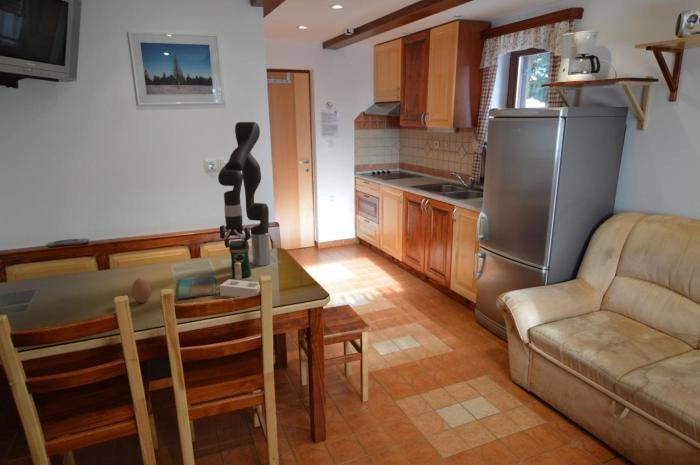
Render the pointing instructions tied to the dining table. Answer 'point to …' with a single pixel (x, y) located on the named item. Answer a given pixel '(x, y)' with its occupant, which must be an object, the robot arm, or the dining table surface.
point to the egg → (141, 290)
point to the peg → (238, 271)
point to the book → (196, 288)
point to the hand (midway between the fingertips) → (236, 247)
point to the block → (238, 288)
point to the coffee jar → (240, 258)
